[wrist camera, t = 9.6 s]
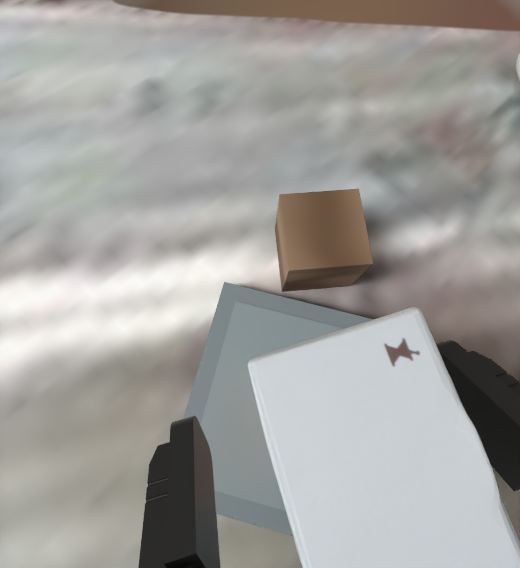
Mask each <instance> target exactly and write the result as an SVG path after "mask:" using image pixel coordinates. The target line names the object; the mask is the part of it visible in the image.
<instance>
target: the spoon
mask: <svg viewBox="0 0 520 568" xmlns="http://www.w3.org/2000/svg"><path fill="white" fill-rule="evenodd" d="M516 68H517V75H518V79H519V83H520V53H519V55H518V58H517V64H516Z"/></svg>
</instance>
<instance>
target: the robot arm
mask: <svg viewBox="0 0 520 568" xmlns="http://www.w3.org/2000/svg"><path fill="white" fill-rule="evenodd" d="M436 345H437V348H438V350H439V353H440V355H441V357H442V360H443V362H444V365H445V367H446V369H447V371H448V373H449V375H450V377H451V380H452V382H453V384H454V387H455V389H456V391H457V394H458V396H459V398H460V401H461V403H462V405H463V407H464V409H465V411H466V413H467V415H468V417H469V418H470V420H471V421H472V423H473V425H474V426H475V428H476V430H477V432H478V435H479V437H480V439H481V442H482V444H483V447H484V449H485V452H486V454H487V457H488V459H489V462H490V464H491V465H492V466H493V468H494V469H495V470H496V471H497V472H498V473H499V474H500V476H501V477H502V478H503V479H504V480H505V481H506V483H507V484H508V485H509V486H510V487H511V488H512V489H513V491H516V490H519V489H520V384H519V382H518V381H517V380H516V379H515V378H513V377H512V376H511V375H510V374H509V375H508V374H507V372H506V371H505V370H504V369H502V368H501V367H500V366H499V365H497V364H496V363H495V362H494V361H492V360H491V359H489V358H487V357H485V356H482V355H480V354H478V353H476V352H474V351H471V352H467V351H466V350H465V349H463V348H462V347H461V346H460V345H459V344H457V343H456V342H454V341H451V340H450V341H446V342H443V343H439V344H436ZM139 568H220V558H219V545H218V531H217V518H216V504H215V491H214V477H213V464H212V456H211V451H210V447H209V444H208V442H207V439H206V437H205V435H204V433H203V430H202V428H201V426H200V424H199V421H198V419H197V417H196V416H192V417H189V418H185V419H182V420H179V421H175V422H172V424H171V429H170V442H169V443H165V444H162V445H159V446H158V447H157V449H156V451H155V453H154V455H153V458H152V460H151V462H150V464H149V474H148V487H147V493H146V503H145V512H144V521H143V531H142V540H141V550H140V559H139Z"/></svg>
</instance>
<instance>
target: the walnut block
mask: <svg viewBox="0 0 520 568" xmlns="http://www.w3.org/2000/svg"><path fill="white" fill-rule="evenodd" d="M275 233H276V242H277V251H278V260H279V269H280V278H281V287H282V292H284V291H296V290H309V289H321V288H333V287H345V286H350V285H351V284H352V283H353V282H354V281H356V280H357V279H358V278H359V277H360V276H361V275H362V274H363V273H364V272H365V271H366V270H367V269H368V268H369V267H371V266H372V265H373V259H372V254H371V249H370V244H369V238H368V233H367V228H366V223H365V218H364V213H363V208H362V203H361V198H360V193H359V189H349V190H335V191H322V192H308V193H294V194H280V195H279V203H278V211H277V218H276V226H275Z"/></svg>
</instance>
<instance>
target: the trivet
mask: <svg viewBox="0 0 520 568" xmlns="http://www.w3.org/2000/svg"><path fill="white" fill-rule="evenodd" d="M371 320H374V319H370V318H366V317H362V316H358V315H354V314H350V313H346V312H342V311H338V310H334V309H330V308H326V307H322V306H318V305H314V304H310V303H306V302H302V301H298V300H294V299H290V298H286V297H282V296H278V295H274V294H270V293H266V292H262V291H258V290H254V289H250V288H246V287H242V286H238V285H234V284H230V283H226V282H224V285H223V288H222V292H221V295H220V298H219V302H218V305H217V308H216V312H215V315H214V318H213V322H212V325H211V328H210V332H209V335H208V338H207V342H206V345H205V348H204V352H203V355H202V359H201V362H200V365H199V369H198V372H197V375H196V379H195V382H194V385H193V389H192V392H191V395H190V399H189V402H188V405H187V409H186V412H185V415H184V419H185V418H189V417H192V416H196V417H197V419H198V421H199V424H200V426H201V428H202V430H203V433H204V435H205V437H206V439H207V442H208V444H209V447H210V451H211V456H212V464H213V477H214V491H215V504H216V514H219V515H223V516H226V517H229V518H233V519H236V520H240V521H243V522H247V523H250V524H253V525H257V526H260V527H264V528H267V529H270V530H274V531H277V532H281V533H284V534H287V535H291V536H293V534H292V530H291V527H290V523H289V520H288V516H287V513H286V509H285V506H284V503H283V499H282V496H281V492H280V489H279V486H278V481H277V478H276V475H275V472H274V468H273V465H272V461H271V458H270V454H269V450H268V447H267V443H266V440H265V436H264V432H263V428H262V424H261V420H260V416H259V412H258V408H257V403H256V399H255V395H254V390H253V386H252V382H251V378H250V374H249V369H248V362H249V361H250V360H251V359H252V358H254V357H257V356H260V355H263V354H267V353H270V352H273V351H276V350H279V349H282V348H286V347H289V346H292V345H295V344H298V343H301V342H304V341H308V340H311V339H314V338H317V337H320V336H323V335H327V334H330V333H333V332H336V331H339V330H342V329H346V328H349V327H352V326H355V325H358V324H361V323H364V322H368V321H371Z"/></svg>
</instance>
